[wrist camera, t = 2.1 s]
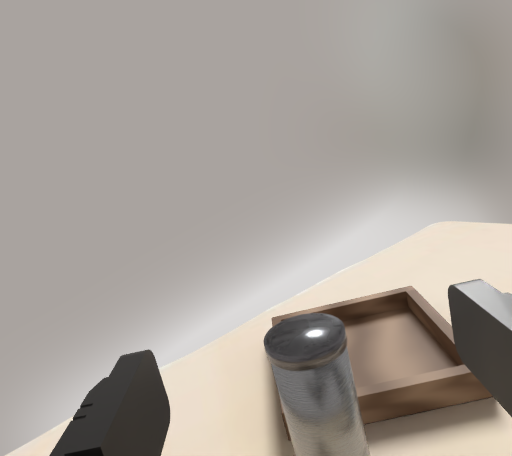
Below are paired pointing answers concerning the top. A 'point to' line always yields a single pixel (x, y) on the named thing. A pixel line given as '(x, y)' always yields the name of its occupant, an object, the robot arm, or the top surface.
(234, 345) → the top surface
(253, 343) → the top surface
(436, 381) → the walnut tray
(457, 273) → the top surface
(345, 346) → the steel canister
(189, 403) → the top surface
